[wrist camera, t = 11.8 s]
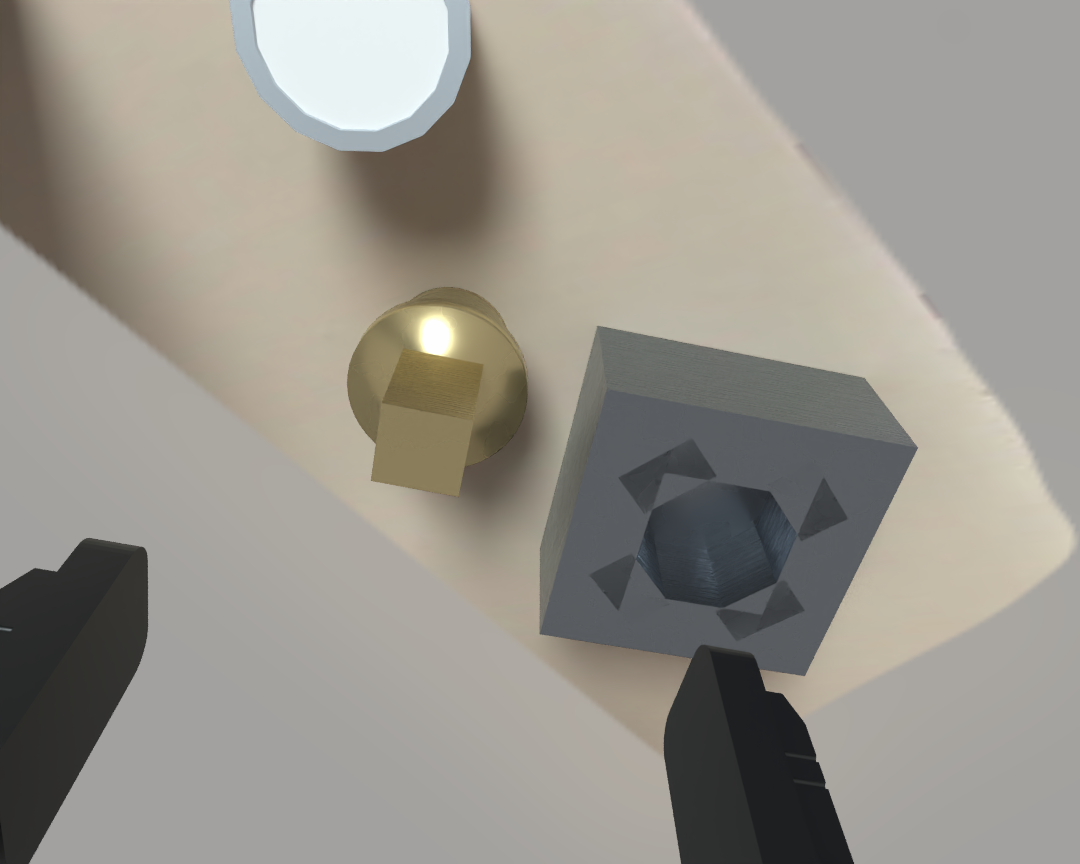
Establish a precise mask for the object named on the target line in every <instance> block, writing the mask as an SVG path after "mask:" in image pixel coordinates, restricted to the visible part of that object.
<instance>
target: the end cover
mask: <svg viewBox="0 0 1080 864" xmlns="http://www.w3.org/2000/svg"><path fill="white" fill-rule="evenodd" d="M347 388H348V396H349V400H350V404H351V408H352V410H353V413H354V415H355V417H356V419H357V421H358V422H359V424H360V426H361V427H362V429H363V430H364V431H365V433H366V434H367V435H368V436H369V437H370V438H371V439H372V440H373V441H374V443H376V447H375V455H374V462H373V469H372V477H371V481H375V482H380V483H386V484H391V485H397V486H402V487H408V488H413V489H418V490H424V491H429V492H435V493H440V494H446V495H451V496H457V497H459V492H460V487H461V482H462V477H463V472H464V467H466V466H470V465H473V464H476V463H478V462H481V461H483V460H485V459H487V458H489V457H490V456H492V455H493V454H495V453H496V452H498V451H499V450H500V449H501V448H503V447H504V446H505V445H506V444H507V443H508V442H509V440H510V439H511V438H512V437H513V435H514V434H515V432H516V431H517V429H518V428H519V426H520V423H521V421H522V419H523V416H524V413H525V409H526V403H527V393H528V375H527V367H526V364H525V360H524V357H523V354H522V352H521V350H520V347H519V346H518V344H517V342H516V341H515V339H514V337H513V336H512V335H511V334H510V332H509V331H508V330H507V328H506V326H505V323H504V321H503V319H502V318H501V316H500V314H499V313H498V312H497V310H496V309H495V308H494V307H493V306H492V305H491V304H490V303H489V302H488V301H486V300H485V299H484V298H482V297H480V296H479V295H477V294H475V293H473V292H470V291H468V290H464V289H460V288H453V287H443V288H435V289H431V290H428V291H425V292H423V293H421V294H419V295H417V296H416V297H414V298H413V299H412V300H410V301H407V302H405V303H402V304H400V305H397V306H395V307H393V308H391V309H390V310H388V311H386V312H385V313H384V314H382V315H381V316H380V317H378V318H377V319H376V320H375V321H374V322H373V323H372V324H371V325H370V326H369V328H368V329H367V330H366V332H365V333H364V335H363V336H362V338H361V340H360V342H359V344H358V346H357V348H356V350H355V352H354V353H353V356H352V359H351V362H350V365H349V370H348V379H347Z"/></svg>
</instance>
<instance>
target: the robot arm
mask: <svg viewBox="0 0 1080 864" xmlns="http://www.w3.org/2000/svg"><path fill="white" fill-rule="evenodd" d="M147 632H148V560H147V552H146V550H145V548H143V547H139V546H133V545H127V544H121V543H116V542H110V541H104V540H98V539H92V538H86V539H84V540H83V541H82V542H80V544H79V545H78V546H77V547H76V548H75V550H74V551H73V552H72V553H71V555H70V556H69V557H68V559H67V560H66V561H65V562H64V564H63V565H62V566H61V568H60V569H59V570H58V571H57V572H55V571H49V570H42V569H36V568H35V569H33V570H31V571H29V572H28V573H26V574H24V575H23V576H21V577H19V578H18V579H16V580H14V581H13V582H11V583H9V584H8V585H6V586H4V587H3V588H1V589H0V864H29V862H30V860H31V859H32V857H33V855H34V853H35V851H36V850H37V848H38V846H39V844H40V842H41V841H42V839H43V837H44V835H45V834H46V831H47V830H48V828H49V826H50V825H51V823H52V821H53V819H54V817H55V816H56V814H57V812H58V810H59V808H60V807H61V805H62V803H63V801H64V800H65V798H66V796H67V794H68V793H69V791H70V789H71V787H72V785H73V784H74V782H75V780H76V778H77V776H78V775H79V773H80V771H81V769H82V768H83V766H84V764H85V762H86V760H87V759H88V757H89V755H90V753H91V751H92V750H93V748H94V746H95V744H96V742H97V741H98V739H99V737H100V735H101V734H102V732H103V730H104V728H105V727H106V725H107V723H108V721H109V719H110V718H111V716H112V713H113V712H114V710H115V708H116V707H117V705H118V703H119V702H120V700H121V698H122V696H123V694H124V693H125V691H126V689H127V687H128V685H129V684H130V682H131V680H132V678H133V676H134V674H135V673H136V671H137V668H138V666H139V664H140V661H141V658H142V655H143V652H144V648H145V644H146V639H147ZM664 758H665V763H666V770H667V777H668V783H669V790H670V795H671V802H672V808H673V815H674V821H675V827H676V834H677V840H678V846H679V852H680V858H681V864H854V862H853V859H852V856H851V853H850V851H849V848H848V845H847V842H846V839H845V836H844V834H843V831H842V828H841V825H840V822H839V819H838V816H837V813H836V811H835V808H834V805H833V802H832V799H831V796H830V793H829V790H828V789H825V783H826V782H825V779H824V776H823V773H822V770H821V768H820V765H819V762H816V753H815V750H814V747H813V745H812V742H811V739H810V736H809V733H808V731H807V727H806V725H805V723H804V722H803V720H802V719H801V718H800V716H799V715H798V714H797V712H796V711H795V710H794V708H793V707H792V706H791V705H790V703H789V702H788V701H787V699H786V698H785V697H784V695H783V694H781V693H775V692H769V691H766V690H765V687H764V683H763V680H762V677H761V674H760V671H759V667H758V664H757V661H756V659H755V657H754V655H753V654H752V653H750V652H745V651H739V650H733V649H727V648H721V647H715V646H709V645H701V646H699V647H698V648H697V650H696V652H695V654H694V656H693V658H692V661H691V663H690V665H689V668H688V670H687V672H686V675H685V677H684V679H683V682H682V684H681V686H680V689H679V691H678V693H677V696H676V698H675V700H674V703H673V705H672V707H671V710H670V712H669V715H668V718H667V722H666V727H665V734H664Z"/></svg>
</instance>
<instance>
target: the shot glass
mask: <svg viewBox="0 0 1080 864" xmlns="http://www.w3.org/2000/svg"><path fill="white" fill-rule="evenodd" d="M229 2H230V9H231V17H232V24H233V31H234V39H235V46H236V51H237V53H238V55H239V57H240V59H241V61H242V63H243V65H244V67H245V69H246V71H247V73H248V75H249V77H250V79H251V81H252V83H253V85H254V86H255V88H256V90H257V92H258V94H259V96H260V98H261V99H263V100H264V101H265V102H266V103H267V104H268V105H269V106H270V107H271V108H272V109H273V110H274V111H275V112H276V113H277V114H278V115H279V116H280V117H281V118H282V119H283V120H284V121H285V122H286V123H287V124H288V125H289V126H291V127H292V128H293V129H294V130H295V131H296V132H298V133H300V134H302V135H305V136H307V137H309V138H311V139H314V140H316V141H318V142H321V143H323V144H325V145H327V146H330V147H332V148H334V149H336V150H339V151H372V152H384V151H386V150H389V149H391V148H393V147H396V146H398V145H401V144H403V143H406V142H408V141H411V140H413V139H415V138H418V137H420V136H423V135H424V134H425V133H426V132H427V131H428V130H429V129H430V128H431V126H432V125H433V124H434V123H435V122H436V121H437V120H438V119H439V118H440V117H441V116H442V115H443V114H444V113H445V112H446V111H447V110H448V109H449V108H450V106H451V105H452V104H453V103H454V101H455V99H456V96H457V93H458V91H459V88H460V85H461V83H462V80H463V77H464V75H465V72H466V69H467V67H468V64H469V61H470V58H471V33H470V4H469V1H468V0H229Z"/></svg>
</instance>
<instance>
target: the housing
mask: <svg viewBox="0 0 1080 864" xmlns="http://www.w3.org/2000/svg"><path fill="white" fill-rule="evenodd" d="M917 449H918V447H917V446H916V445H915V443H914V442H913V441H912V439H911V438H910V437H909V435H908V434H907V433H906V432H905V430H904V429H903V428H902V426H901V425H900V424H899V422H898V421H897V420H896V419H895V417H894V416H893V415H892V413H891V412H890V411H889V409H888V408H887V407H886V405H885V404H884V403H883V402H882V400H881V399H880V398H879V396H878V395H877V394H876V392H875V391H874V390H873V389H872V387H871V386H870V385H869V383H868V382H867V381H866V379H865V378H861V377H856V376H851V375H846V374H841V373H835V372H830V371H825V370H820V369H815V368H810V367H805V366H800V365H795V364H789V363H784V362H779V361H774V360H769V359H764V358H759V357H754V356H749V355H743V354H738V353H733V352H728V351H723V350H718V349H713V348H708V347H703V346H698V345H692V344H687V343H682V342H677V341H672V340H667V339H662V338H657V337H652V336H646V335H641V334H636V333H631V332H626V331H621V330H616V329H611V328H606V327H600V326H597V330H596V334H595V338H594V342H593V346H592V350H591V354H590V357H589V361H588V365H587V369H586V373H585V377H584V381H583V385H582V388H581V392H580V396H579V400H578V404H577V408H576V412H575V416H574V420H573V423H572V427H571V431H570V435H569V439H568V443H567V447H566V451H565V454H564V458H563V462H562V466H561V470H560V474H559V478H558V482H557V485H556V489H555V493H554V497H553V501H552V505H551V509H550V513H549V516H548V520H547V524H546V528H545V532H544V536H543V540H542V544H541V547H540V634H542V635H549V636H555V637H561V638H567V639H574V640H580V641H586V642H593V643H599V644H605V645H612V646H618V647H624V648H631V649H637V650H643V651H650V652H656V653H662V654H669V655H675V656H681V657H688V658H693V656H694V654H695V652H696V650H697V648H698V647H699V646H701V645H709V646H715V647H721V648H727V649H733V650H739V651H745V652H750V653H752V654H753V655H754V657H755V659H756V661H757V664H758V667H759V669H763V670H770V671H776V672H782V673H789V674H795V675H801V676H805V674H806V672H807V670H808V668H809V666H810V664H811V662H812V660H813V658H814V656H815V654H816V652H817V650H818V648H819V646H820V644H821V642H822V640H823V638H824V636H825V634H826V632H827V630H828V628H829V626H830V624H831V622H832V620H833V618H834V616H835V614H836V612H837V610H838V608H839V606H840V604H841V602H842V600H843V598H844V596H845V594H846V592H847V590H848V588H849V586H850V584H851V582H852V580H853V578H854V576H855V573H856V571H857V569H858V567H859V565H860V563H861V561H862V559H863V557H864V555H865V553H866V551H867V549H868V547H869V545H870V543H871V541H872V539H873V537H874V535H875V533H876V531H877V529H878V527H879V525H880V523H881V521H882V519H883V517H884V515H885V513H886V511H887V509H888V507H889V505H890V503H891V501H892V499H893V497H894V495H895V493H896V491H897V489H898V487H899V485H900V483H901V481H902V479H903V477H904V475H905V473H906V471H907V469H908V467H909V465H910V463H911V461H912V459H913V457H914V455H915V453H916V451H917Z"/></svg>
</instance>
